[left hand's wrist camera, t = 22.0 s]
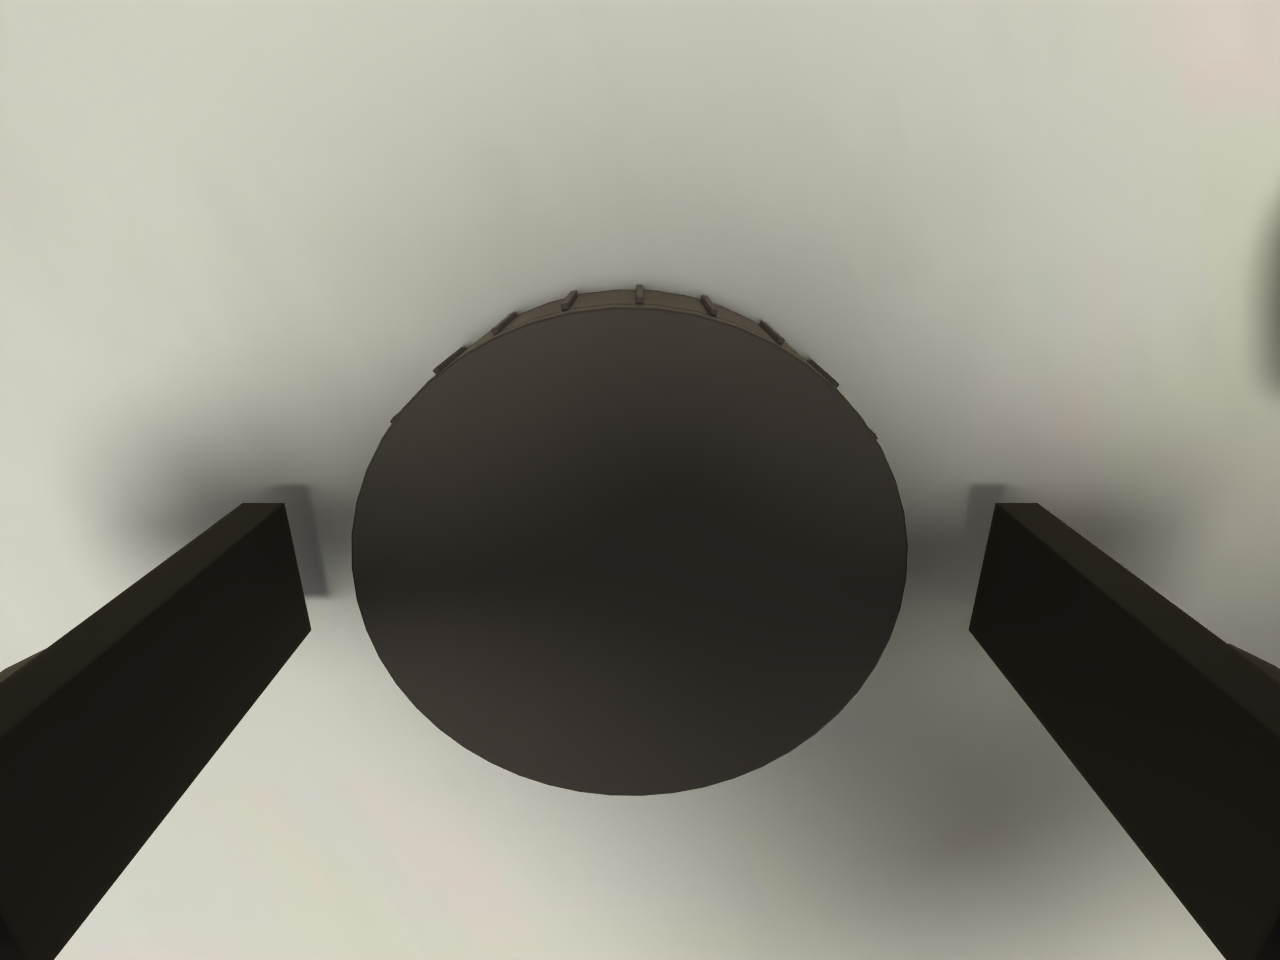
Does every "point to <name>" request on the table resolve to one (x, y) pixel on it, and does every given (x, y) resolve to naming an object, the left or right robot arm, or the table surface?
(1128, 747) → the left robot arm
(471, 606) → the lid
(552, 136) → the table surface
